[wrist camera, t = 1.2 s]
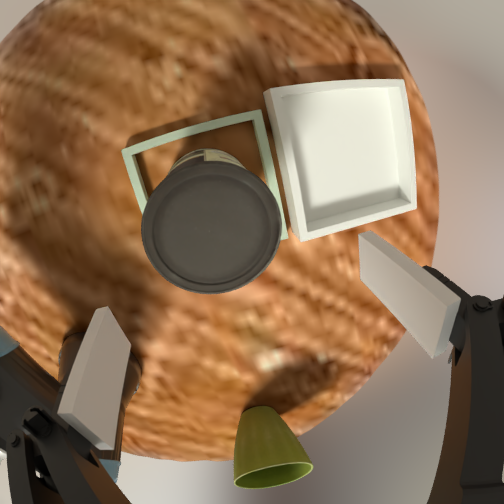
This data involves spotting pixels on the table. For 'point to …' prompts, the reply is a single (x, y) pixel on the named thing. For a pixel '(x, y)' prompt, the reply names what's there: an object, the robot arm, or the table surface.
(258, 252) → the coffee can
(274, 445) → the flower pot
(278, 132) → the bin
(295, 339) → the table surface
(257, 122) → the frame
